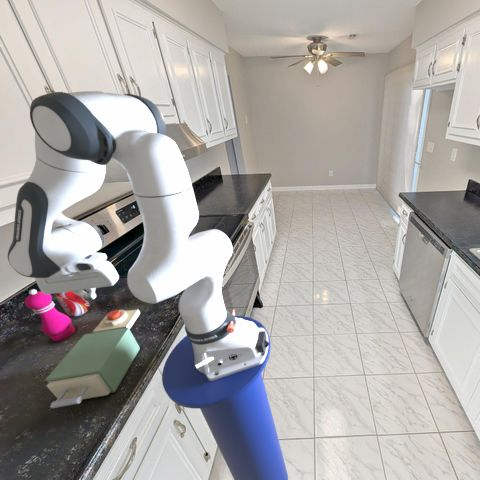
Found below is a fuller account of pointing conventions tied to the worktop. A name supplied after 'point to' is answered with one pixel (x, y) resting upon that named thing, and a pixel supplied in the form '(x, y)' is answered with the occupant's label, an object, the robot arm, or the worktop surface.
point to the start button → (113, 314)
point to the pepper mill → (49, 315)
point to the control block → (118, 321)
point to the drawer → (77, 389)
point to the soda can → (72, 303)
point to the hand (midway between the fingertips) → (90, 298)
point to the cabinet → (99, 357)
